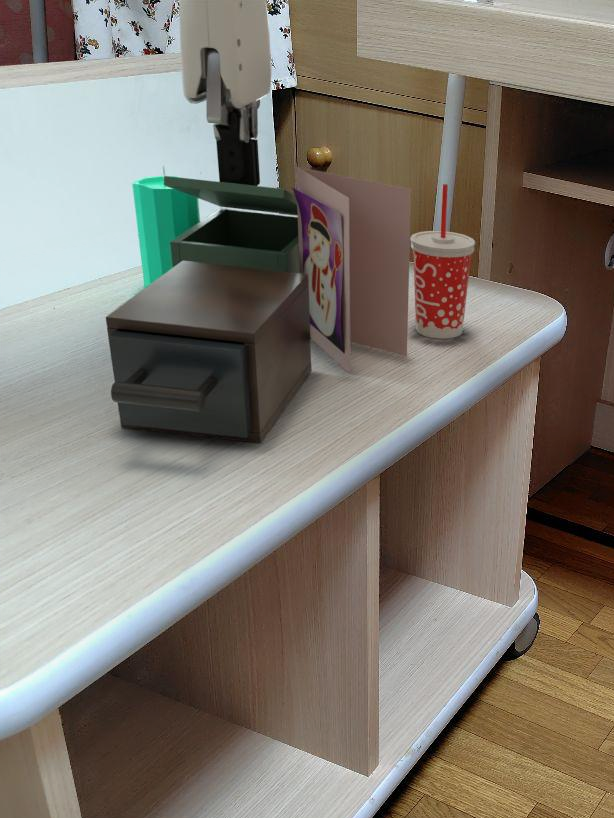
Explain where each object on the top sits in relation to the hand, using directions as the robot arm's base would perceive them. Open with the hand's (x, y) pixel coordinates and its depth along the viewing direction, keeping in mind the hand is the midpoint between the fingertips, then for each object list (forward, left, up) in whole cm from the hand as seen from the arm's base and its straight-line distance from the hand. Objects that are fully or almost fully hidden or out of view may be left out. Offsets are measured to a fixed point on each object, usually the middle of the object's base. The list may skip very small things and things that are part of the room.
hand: (240, 185), depth 90 cm
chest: (0, +3, -13) cm, 13 cm away
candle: (-10, +6, -13) cm, 17 cm away
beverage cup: (+18, +2, -13) cm, 22 cm away
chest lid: (0, +3, -2) cm, 4 cm away
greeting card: (+11, -5, -13) cm, 18 cm away
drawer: (+4, -22, -12) cm, 26 cm away
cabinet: (+4, -19, -13) cm, 23 cm away
